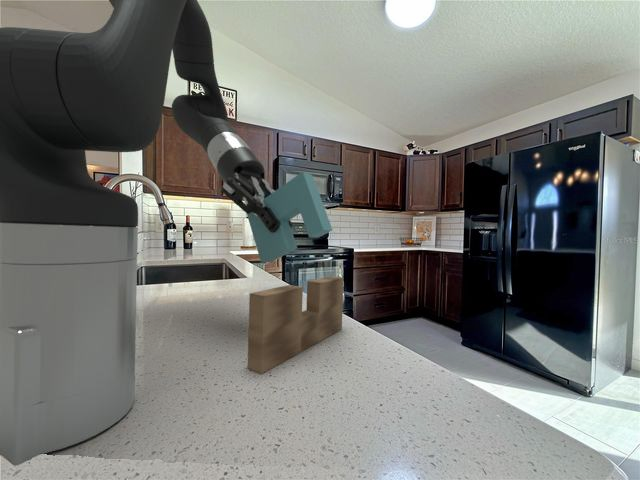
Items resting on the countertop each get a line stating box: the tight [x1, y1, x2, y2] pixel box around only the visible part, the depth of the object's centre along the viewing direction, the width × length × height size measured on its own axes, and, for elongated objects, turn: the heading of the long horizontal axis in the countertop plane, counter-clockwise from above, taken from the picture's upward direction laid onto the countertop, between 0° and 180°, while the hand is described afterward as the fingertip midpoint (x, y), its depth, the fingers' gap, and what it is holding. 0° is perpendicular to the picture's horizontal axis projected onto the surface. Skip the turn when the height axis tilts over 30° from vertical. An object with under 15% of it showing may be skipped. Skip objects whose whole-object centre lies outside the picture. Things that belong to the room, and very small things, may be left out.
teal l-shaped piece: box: [246, 171, 333, 263], centre depth 44 cm, size 14×2×10 cm, turn 57°
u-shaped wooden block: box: [247, 275, 344, 375], centre depth 42 cm, size 20×2×10 cm, turn 146°
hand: (282, 228), depth 44 cm, fingers closed on teal l-shaped piece, 2 cm apart
